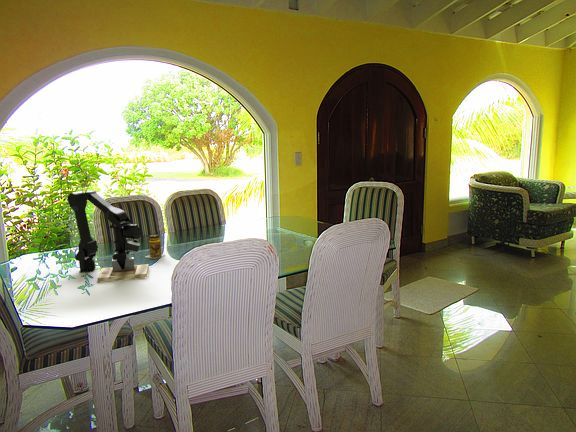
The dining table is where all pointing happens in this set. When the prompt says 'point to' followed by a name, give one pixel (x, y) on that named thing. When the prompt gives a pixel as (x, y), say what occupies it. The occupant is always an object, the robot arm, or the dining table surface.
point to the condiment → (154, 247)
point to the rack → (123, 273)
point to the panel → (128, 265)
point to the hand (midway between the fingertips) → (123, 268)
